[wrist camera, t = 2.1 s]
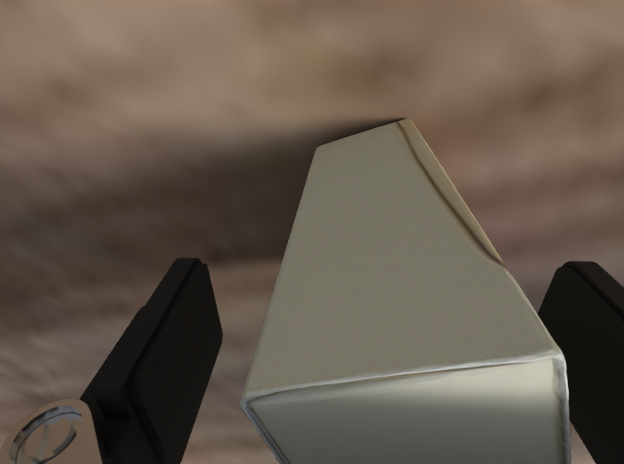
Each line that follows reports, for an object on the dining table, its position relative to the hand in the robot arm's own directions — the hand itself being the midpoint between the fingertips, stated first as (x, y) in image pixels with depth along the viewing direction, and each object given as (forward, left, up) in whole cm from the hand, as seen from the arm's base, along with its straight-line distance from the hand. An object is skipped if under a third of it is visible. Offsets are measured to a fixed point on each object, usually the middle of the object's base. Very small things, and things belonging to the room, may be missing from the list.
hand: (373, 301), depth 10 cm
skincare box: (-1, 0, -8) cm, 8 cm away
